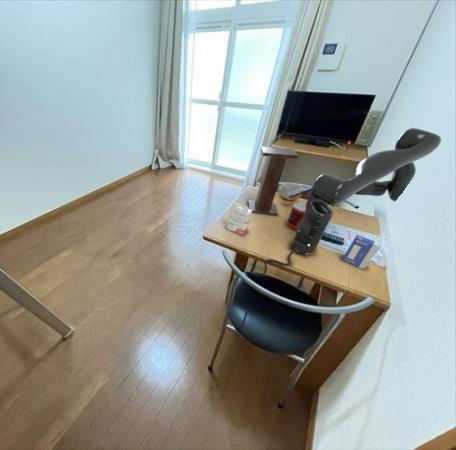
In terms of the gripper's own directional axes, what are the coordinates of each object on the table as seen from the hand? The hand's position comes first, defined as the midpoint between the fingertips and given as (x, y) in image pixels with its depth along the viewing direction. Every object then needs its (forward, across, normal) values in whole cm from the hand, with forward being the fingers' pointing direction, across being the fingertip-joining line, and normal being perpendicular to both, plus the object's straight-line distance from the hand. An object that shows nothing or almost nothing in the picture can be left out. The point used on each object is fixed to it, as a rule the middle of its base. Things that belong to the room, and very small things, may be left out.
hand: (321, 183), depth 125 cm
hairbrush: (+4, 0, +5) cm, 6 cm away
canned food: (+11, +18, +16) cm, 27 cm away
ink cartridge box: (+39, +29, +16) cm, 51 cm away
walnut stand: (+25, +4, +16) cm, 30 cm away
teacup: (+7, -13, +16) cm, 22 cm away
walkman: (-6, +41, +16) cm, 45 cm away
